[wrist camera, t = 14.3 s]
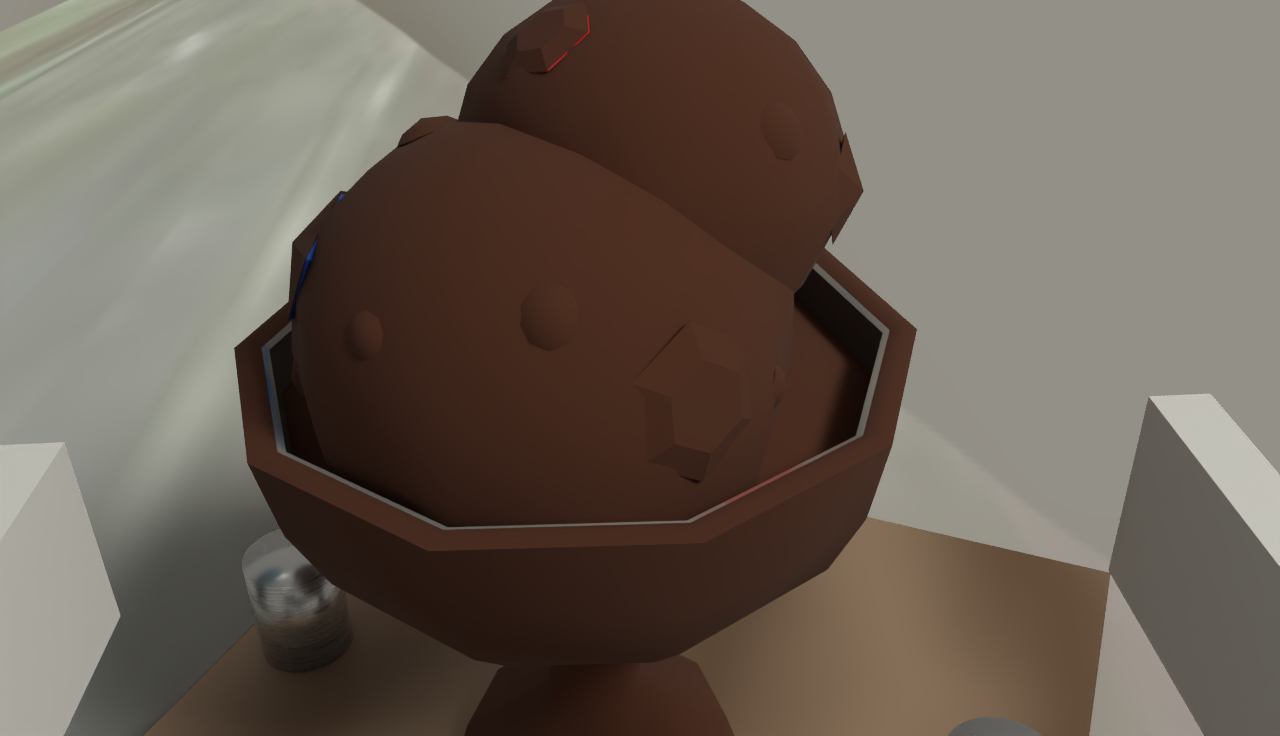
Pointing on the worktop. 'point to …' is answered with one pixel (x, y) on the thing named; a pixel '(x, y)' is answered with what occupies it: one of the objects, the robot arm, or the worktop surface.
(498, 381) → the ice cream bowl
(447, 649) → the stub board
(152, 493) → the worktop surface
